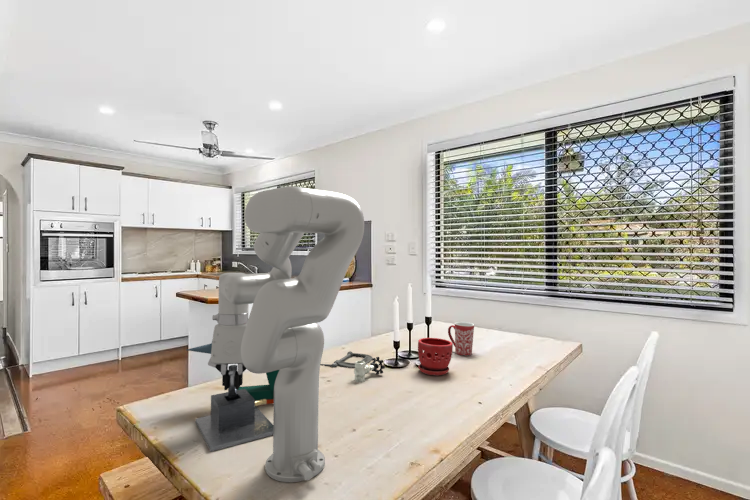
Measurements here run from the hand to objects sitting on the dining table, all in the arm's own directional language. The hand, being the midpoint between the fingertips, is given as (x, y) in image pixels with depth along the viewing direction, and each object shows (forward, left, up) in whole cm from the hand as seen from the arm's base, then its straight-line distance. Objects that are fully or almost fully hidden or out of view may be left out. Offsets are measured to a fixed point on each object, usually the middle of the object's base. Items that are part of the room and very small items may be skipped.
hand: (232, 387), depth 104 cm
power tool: (+13, -6, -10) cm, 17 cm away
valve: (+11, -51, -10) cm, 53 cm away
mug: (+17, -105, -10) cm, 107 cm away
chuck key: (0, 0, -2) cm, 2 cm away
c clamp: (+32, -55, -10) cm, 65 cm away
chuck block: (-3, -1, -10) cm, 10 cm away
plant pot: (+3, -76, -10) cm, 77 cm away
